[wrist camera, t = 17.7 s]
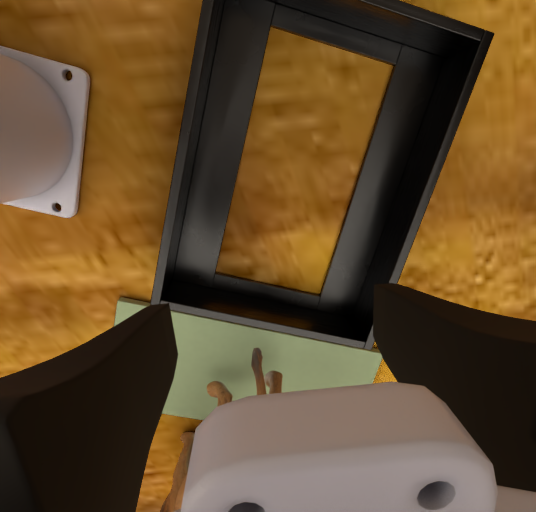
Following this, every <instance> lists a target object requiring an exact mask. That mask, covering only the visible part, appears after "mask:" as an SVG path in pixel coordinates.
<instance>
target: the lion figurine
mask: <svg viewBox="0 0 536 512" xmlns="http://www.w3.org/2000/svg"><path fill="white" fill-rule="evenodd" d="M262 359H263V356H262V352H261V350H260V348H254V349H253V353H252V362H251V367H252V369H253V372H254V375H255V380H256V388H257V395H264V394H266V387H265V384H266V385H267V386H268V387H269V388H270V389H269V394H274V393H282V378H283V375H282V373H280V372H278V371H269V372H268V373H266V375H265V377H264V375H263V371H262ZM207 392H208V394H209V395H210V396H211V397H215V398H218V405H217V406H220V405H223V404H226V403H229V402H232V398H233V395H232V394H231V393H230V392H229V390H228V389H227V387H226V386H225V385H224V383H222V382H220V381H212V382H210V383H209V384H208V385H207ZM194 435H195V433H193V432H185V433H183V434H182V435H181V438H180V439H181V441H182V442H183V443H184V447H183V449H182V452H181V454H180V457H179V460H178V463H177V465H176V468H175V471H174V475H173V485H172V489H171V492H170V493H169V495H168V496H167V498H166V500H165V501H164V503H163V505H162V508H161V510H160V512H173V511H176V510H178V509H181V506H182V500H183V494H184V489H185V483H186V478H187V473H188V467H189V462H190V457H191V451H192V446H193V441H194Z"/></svg>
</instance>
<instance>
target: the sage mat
mask: <svg viewBox="0 0 536 512" xmlns="http://www.w3.org/2000/svg"><path fill="white" fill-rule="evenodd" d="M147 306H150V303H148V302H143V301H138V300H133V299H128V298H123V297H121V298H120V299H119V300H118V302H117V309H116V316H115V323H114V326H116V325H117V324H119V323H120V322H122V321H124V320H125V319H127V318H129V317H130V316H132V315H133V314H135V313H137V312H138V311H140V310H142V309H144V308H145V307H147ZM170 311H171V316H172V322H173V328H174V333H175V339H176V344H177V350H178V359H177V364H176V370H175V375H174V379H173V382H172V385H171V388H170V391H169V394H168V397H167V400H166V403H165V405H164V408H163V411H162V414H168V415H174V416H180V417H187V418H193V419H199V420H204V419H205V418H206V417H207V416H208V415H209V414H210V413H211V412H212V411H213V410H214V409H215V408H216V407H217V405H218V398H215V397H211V396H210V395H209V394H208V392H207V385H208V384H209V383H210V382H212V381H220V382H222V383H224V385H225V386H226V387H227V389H228V390H229V392H230V393H231V394H232V395H233V398H232V401H235V400H238V399H241V398H244V397H247V396H254V395H257V388H256V380H255V375H254V372H253V369H252V367H251V362H252V353H253V349H254V348H260V350H261V352H262V356H263V359H262V371H263V375H264V377H265V375H266V373H268V372H269V371H278V372H280V373H282V375H283V378H282V393H284V392H294V391H304V390H314V389H324V388H334V387H344V386H354V385H364V384H372V383H373V380H374V378H375V375H376V373H377V370H378V368H379V365H380V363H381V360H382V358H383V357H382V355H381V353H380V351H379V349H376V348H372V349H371V350H367V349H364V348H363V349H362V348H357V347H352V346H347V345H342V344H337V343H332V342H327V341H322V340H317V339H312V338H307V337H302V336H297V335H292V334H287V333H282V332H277V331H272V330H267V329H262V328H257V327H253V326H248V325H243V324H238V323H233V322H228V321H223V320H218V319H213V318H208V317H203V316H198V315H193V314H188V313H183V312H178V311H173V310H170ZM265 387H266V394H269V389H270V388H269V387H268V386H267V385H266V384H265Z"/></svg>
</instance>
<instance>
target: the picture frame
mask: <svg viewBox="0 0 536 512" xmlns="http://www.w3.org/2000/svg"><path fill="white" fill-rule="evenodd" d="M270 26H271V27H273V28H276V29H280V30H283V31H286V32H289V33H292V34H295V35H299V36H302V37H305V38H308V39H311V40H314V41H318V42H321V43H324V44H327V45H330V46H333V47H337V48H340V49H343V50H346V51H349V52H352V53H356V54H359V55H362V56H365V57H368V58H371V59H375V60H378V61H381V62H384V63H387V64H390V65H394V68H393V71H392V74H391V77H390V80H389V83H388V86H387V89H386V92H385V95H384V98H383V102H382V105H381V108H380V111H379V114H378V117H377V120H376V123H375V126H374V129H373V132H372V136H371V139H370V142H369V145H368V148H367V151H366V154H365V157H364V160H363V163H362V166H361V170H360V173H359V176H358V179H357V182H356V185H355V188H354V191H353V194H352V197H351V200H350V204H349V207H348V210H347V213H346V216H345V219H344V222H343V225H342V228H341V231H340V234H339V237H338V241H337V244H336V247H335V250H334V253H333V256H332V259H331V262H330V265H329V268H328V271H327V275H326V278H325V281H324V284H323V287H322V290H321V293H320V295H317V294H312V293H307V292H303V291H298V290H294V289H289V288H285V287H280V286H275V285H271V284H266V283H262V282H257V281H253V280H248V279H243V278H239V277H234V276H230V275H225V274H220V273H216V272H215V271H216V266H217V262H218V258H219V253H220V249H221V244H222V240H223V235H224V231H225V226H226V222H227V218H228V213H229V209H230V204H231V200H232V195H233V191H234V186H235V182H236V177H237V173H238V169H239V164H240V160H241V155H242V151H243V146H244V142H245V137H246V133H247V129H248V124H249V120H250V115H251V111H252V106H253V102H254V97H255V93H256V89H257V84H258V80H259V75H260V71H261V66H262V62H263V57H264V53H265V48H266V44H267V40H268V35H269V31H270ZM493 36H494V33H493V32H490V31H487V30H484V29H481V28H478V27H475V26H472V25H469V24H466V23H463V22H460V21H458V20H455V19H452V18H449V17H446V16H443V15H440V14H437V13H434V12H431V11H428V10H425V9H422V8H420V7H417V6H414V5H411V4H408V3H405V2H402V1H399V0H203V1H202V7H201V13H200V19H199V25H198V30H197V36H196V42H195V48H194V54H193V59H192V65H191V71H190V77H189V83H188V88H187V94H186V100H185V106H184V112H183V117H182V123H181V129H180V135H179V141H178V146H177V152H176V158H175V164H174V170H173V175H172V181H171V187H170V193H169V199H168V204H167V210H166V216H165V222H164V228H163V233H162V239H161V245H160V251H159V257H158V262H157V268H156V274H155V280H154V286H153V291H152V297H151V303H150V305H155V304H166V303H169V305H170V310H173V311H178V312H183V313H188V314H193V315H198V316H203V317H208V318H213V319H218V320H223V321H228V322H233V323H238V324H243V325H248V326H253V327H257V328H262V329H267V330H272V331H277V332H282V333H287V334H292V335H297V336H302V337H307V338H312V339H317V340H322V341H327V342H332V343H337V344H342V345H347V346H352V347H357V348H362V349H363V348H364V349H367V350H371V349H372V347H373V344H374V342H375V340H374V337H373V308H374V285H375V284H386V283H394V284H397V283H398V280H399V278H400V275H401V272H402V270H403V267H404V265H405V262H406V260H407V257H408V254H409V252H410V249H411V247H412V244H413V242H414V239H415V236H416V234H417V231H418V229H419V226H420V224H421V221H422V218H423V216H424V213H425V211H426V208H427V206H428V203H429V200H430V198H431V195H432V193H433V190H434V188H435V185H436V182H437V180H438V177H439V175H440V172H441V170H442V167H443V165H444V162H445V159H446V157H447V154H448V152H449V149H450V147H451V144H452V141H453V139H454V136H455V134H456V131H457V129H458V126H459V123H460V121H461V118H462V116H463V113H464V111H465V108H466V105H467V103H468V100H469V98H470V95H471V93H472V90H473V87H474V85H475V82H476V80H477V77H478V75H479V72H480V69H481V67H482V64H483V62H484V59H485V57H486V54H487V52H488V49H489V46H490V44H491V41H492V39H493Z"/></svg>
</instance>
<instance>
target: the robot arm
mask: <svg viewBox="0 0 536 512" xmlns="http://www.w3.org/2000/svg"><path fill="white" fill-rule="evenodd" d="M68 71H71V73H72V76H73V77H72V79H71V80H70V81H68V80H67V79H66V73H67V72H68ZM89 90H90V77H89V75H88V73H87V72H86V71H85V70H83V69H81V68H78V67H75V66H71V65H68V64H64V63H61V62H57V61H53V60H50V59H46V58H43V57H39V56H36V55H32V54H28V53H25V52H21V51H18V50H14V49H11V48H7V47H3V46H0V203H2V204H6V205H11V206H15V207H20V208H24V209H28V210H33V211H37V212H42V213H46V214H51V215H55V216H59V217H64V218H70V217H73V216H75V215H76V214H77V211H78V202H79V192H80V182H81V172H82V161H83V151H84V141H85V131H86V121H87V110H88V100H89ZM56 203H58V204H60V206H61V211H59V210H57V209H56V206H55V205H56ZM373 337H374V340H375V342H376V344H377V347H378V349H379V351H380V353H381V355H382V357H383V359H384V361H385V362H386V364H387V366H388V367H389V369H390V370H391V372H392V373H393V375H394V377H395V378H396V380H397V381H398V382H384V383H374V384H364V385H354V386H344V387H334V388H324V389H314V390H304V391H294V392H284V393H274V394H264V395H254V396H247V397H244V398H241V399H238V400H235V401H232V402H229V403H226V404H223V405H220V406H217V407H216V408H215V409H214V410H213V411H212V412H211V413H210V414H209V415H208V416H207V417H206V418H205V419H204V420H203V421H202V422H201V424H200V425H199V426H198V427H197V428H196V430H195V435H194V441H193V446H192V451H191V457H190V462H189V467H188V473H187V478H186V483H185V489H184V494H183V500H182V506H181V509H178V510H176V511H173V512H536V321H531V320H525V319H518V318H513V317H508V316H503V315H498V314H494V313H489V312H485V311H481V310H477V309H473V308H469V307H466V306H463V305H459V304H456V303H453V302H449V301H446V300H443V299H440V298H437V297H434V296H432V295H429V294H426V293H423V292H420V291H417V290H414V289H412V288H409V287H405V286H402V285H399V284H394V283H386V284H375V285H374V308H373ZM177 359H178V350H177V344H176V339H175V333H174V328H173V322H172V316H171V311H170V305H169V303H166V304H155V305H150V306H147V307H145V308H144V309H142V310H140V311H138V312H137V313H135V314H133V315H132V316H130V317H129V318H127V319H125V320H124V321H122V322H120V323H119V324H117V325H116V326H114V327H112V328H111V329H109V330H107V331H105V332H104V333H102V334H100V335H98V336H97V337H95V338H93V339H91V340H90V341H88V342H86V343H84V344H82V345H80V346H78V347H76V348H74V349H72V350H70V351H68V352H66V353H64V354H62V355H59V356H57V357H55V358H53V359H50V360H48V361H45V362H42V363H40V364H37V365H35V366H32V367H30V368H27V369H24V370H22V371H19V372H16V373H14V374H11V375H8V376H5V377H1V378H0V512H136V507H137V502H138V498H139V493H140V488H141V483H142V479H143V475H144V471H145V466H146V462H147V458H148V454H149V450H150V446H151V443H152V440H153V436H154V434H155V431H156V428H157V425H158V422H159V420H160V417H161V414H162V411H163V408H164V405H165V403H166V400H167V397H168V394H169V391H170V388H171V385H172V382H173V379H174V375H175V370H176V364H177Z"/></svg>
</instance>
